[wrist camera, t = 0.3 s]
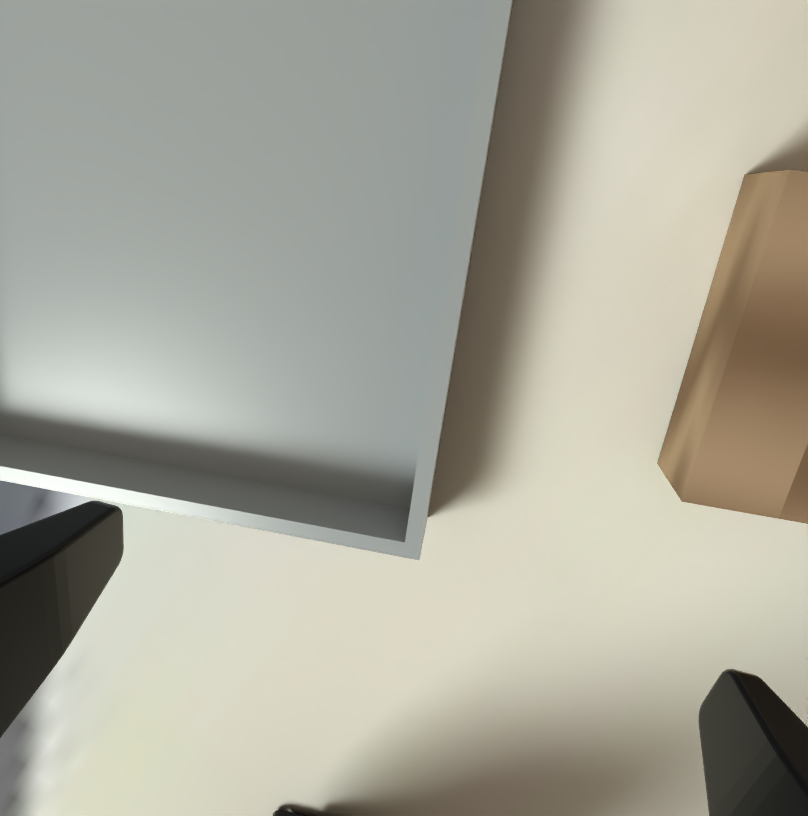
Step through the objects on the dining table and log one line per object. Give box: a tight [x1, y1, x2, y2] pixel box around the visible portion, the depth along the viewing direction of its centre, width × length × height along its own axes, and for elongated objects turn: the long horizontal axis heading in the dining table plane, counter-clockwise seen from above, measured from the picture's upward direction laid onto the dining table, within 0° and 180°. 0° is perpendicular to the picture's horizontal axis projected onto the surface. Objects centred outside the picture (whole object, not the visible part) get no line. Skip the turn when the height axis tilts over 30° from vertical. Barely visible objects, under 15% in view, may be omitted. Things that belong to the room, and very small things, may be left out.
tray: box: [0, 0, 513, 560], centre depth 19 cm, size 24×20×3 cm
